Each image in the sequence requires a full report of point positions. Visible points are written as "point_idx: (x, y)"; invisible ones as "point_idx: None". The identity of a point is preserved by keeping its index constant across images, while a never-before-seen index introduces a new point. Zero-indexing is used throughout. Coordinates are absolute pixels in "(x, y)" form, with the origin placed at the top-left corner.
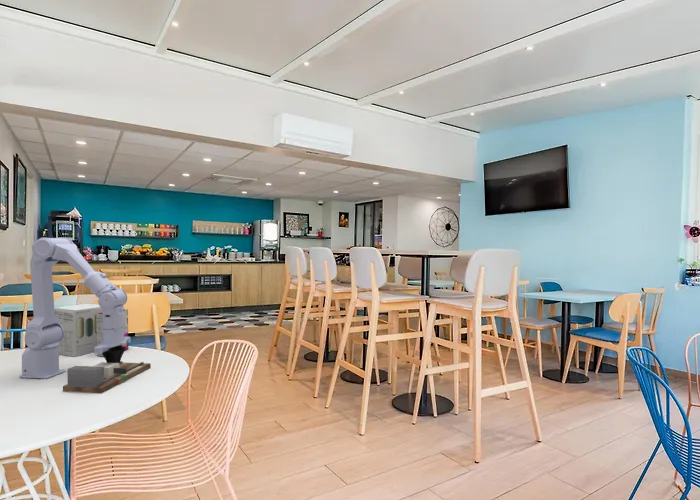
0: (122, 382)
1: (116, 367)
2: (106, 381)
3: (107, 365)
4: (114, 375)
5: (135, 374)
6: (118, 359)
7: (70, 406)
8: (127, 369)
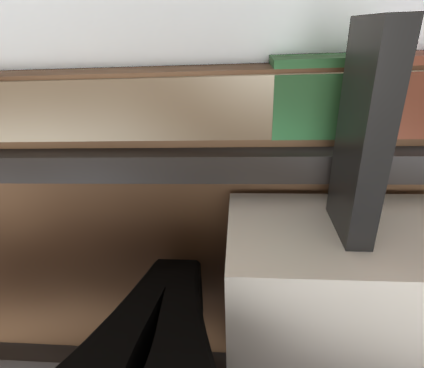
0: None
1: (296, 245)
2: None
3: (376, 359)
4: None
5: (96, 70)
6: (132, 359)
7: None
8: (118, 168)
